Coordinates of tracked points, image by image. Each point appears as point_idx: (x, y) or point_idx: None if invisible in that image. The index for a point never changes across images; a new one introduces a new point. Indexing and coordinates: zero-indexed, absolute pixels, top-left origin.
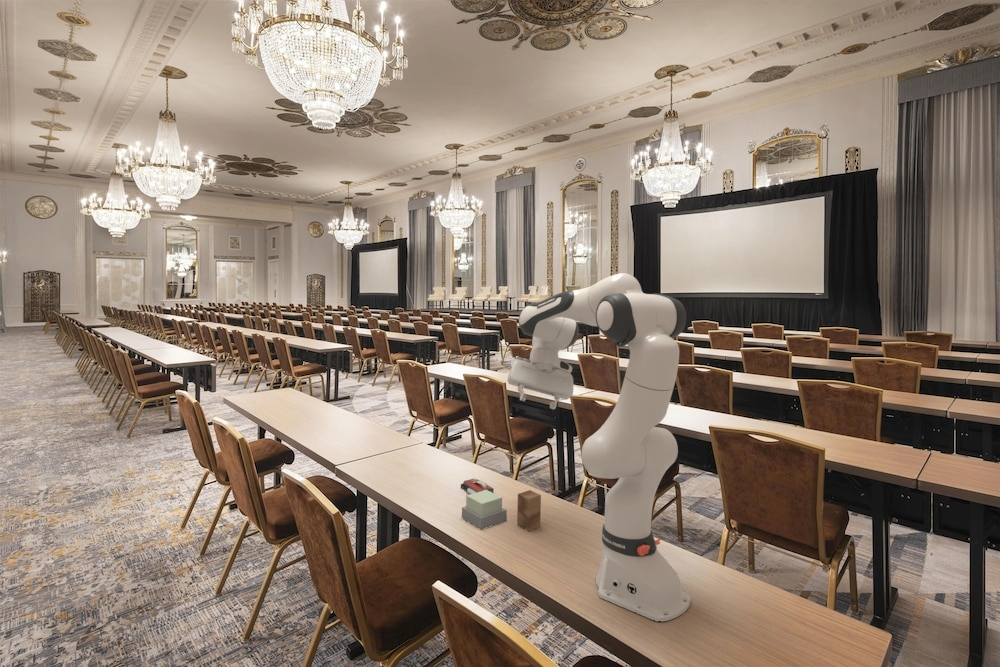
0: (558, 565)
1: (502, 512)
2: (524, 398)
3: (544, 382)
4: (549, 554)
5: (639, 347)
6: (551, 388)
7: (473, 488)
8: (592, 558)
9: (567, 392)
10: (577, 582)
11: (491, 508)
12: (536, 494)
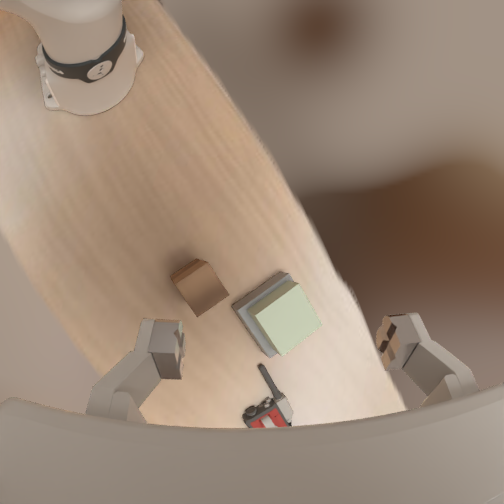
0: (171, 133)
1: (245, 303)
2: (398, 315)
3: (293, 491)
4: (176, 168)
5: None
6: (191, 446)
7: (283, 417)
8: (108, 148)
9: (23, 417)
10: (158, 88)
11: (272, 295)
12: (185, 289)
